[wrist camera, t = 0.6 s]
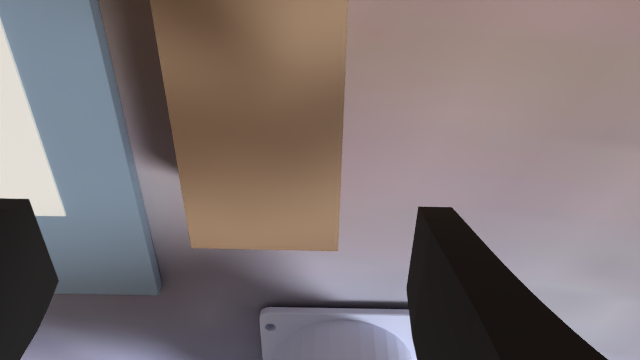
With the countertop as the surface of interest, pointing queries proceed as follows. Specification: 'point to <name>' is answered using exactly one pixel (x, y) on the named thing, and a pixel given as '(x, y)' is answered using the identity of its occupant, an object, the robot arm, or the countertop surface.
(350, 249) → the countertop surface
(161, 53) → the walnut brick
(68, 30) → the plan board
